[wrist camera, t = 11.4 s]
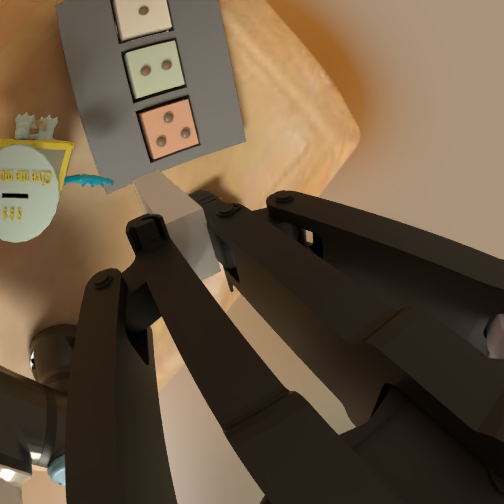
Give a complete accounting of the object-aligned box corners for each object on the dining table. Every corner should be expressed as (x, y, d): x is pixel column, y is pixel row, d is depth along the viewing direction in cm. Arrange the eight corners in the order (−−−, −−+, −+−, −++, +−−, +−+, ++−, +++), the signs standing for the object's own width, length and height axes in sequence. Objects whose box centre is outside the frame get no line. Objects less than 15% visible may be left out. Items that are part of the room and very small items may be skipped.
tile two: (133, 99, 32) (137, 98, 29) (123, 57, 29) (126, 52, 26) (177, 85, 34) (185, 84, 31) (168, 45, 30) (175, 40, 28)
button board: (105, 189, 36) (106, 194, 34) (57, 11, 21) (55, 5, 19) (237, 139, 42) (246, 141, 40) (204, -23, 27) (211, -29, 25)
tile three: (149, 155, 37) (154, 159, 34) (137, 113, 33) (141, 113, 31) (191, 140, 38) (199, 143, 36) (181, 99, 35) (188, 99, 33)
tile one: (120, 43, 27) (123, 37, 25) (112, 4, 24) (115, -4, 21) (165, 31, 29) (172, 25, 27) (157, -6, 26) (164, -14, 23)
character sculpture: (118, 118, 32) (133, 122, 22) (103, 204, 36) (113, 246, 26) (-22, 111, 21) (-67, 116, 11) (-29, 199, 25) (-67, 241, 15)
